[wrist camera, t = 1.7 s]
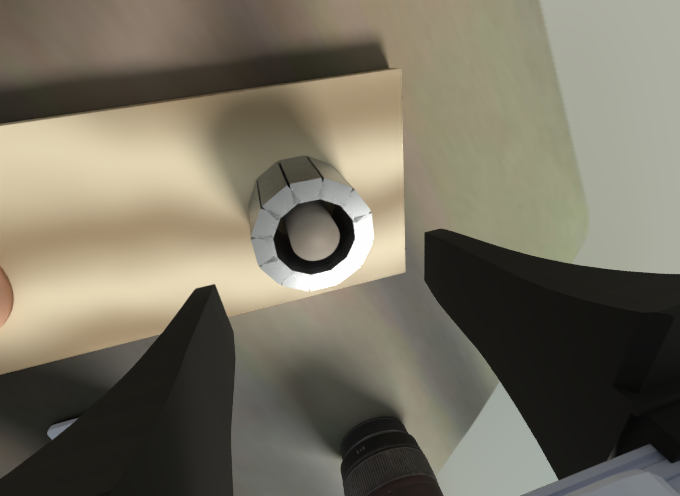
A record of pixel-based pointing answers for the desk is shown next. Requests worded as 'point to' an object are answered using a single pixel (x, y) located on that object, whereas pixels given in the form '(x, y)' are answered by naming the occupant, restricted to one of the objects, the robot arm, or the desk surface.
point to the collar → (298, 187)
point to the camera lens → (385, 462)
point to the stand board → (180, 207)
